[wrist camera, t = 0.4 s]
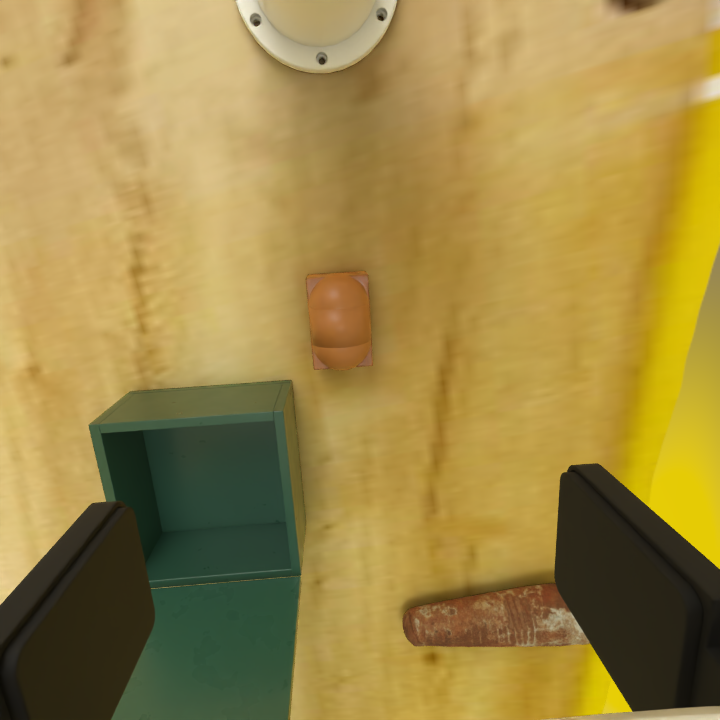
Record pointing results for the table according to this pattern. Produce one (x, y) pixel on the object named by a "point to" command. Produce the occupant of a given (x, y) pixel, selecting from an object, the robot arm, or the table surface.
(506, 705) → the table surface
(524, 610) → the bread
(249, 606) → the warmer lid
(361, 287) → the bread roll
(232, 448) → the box
